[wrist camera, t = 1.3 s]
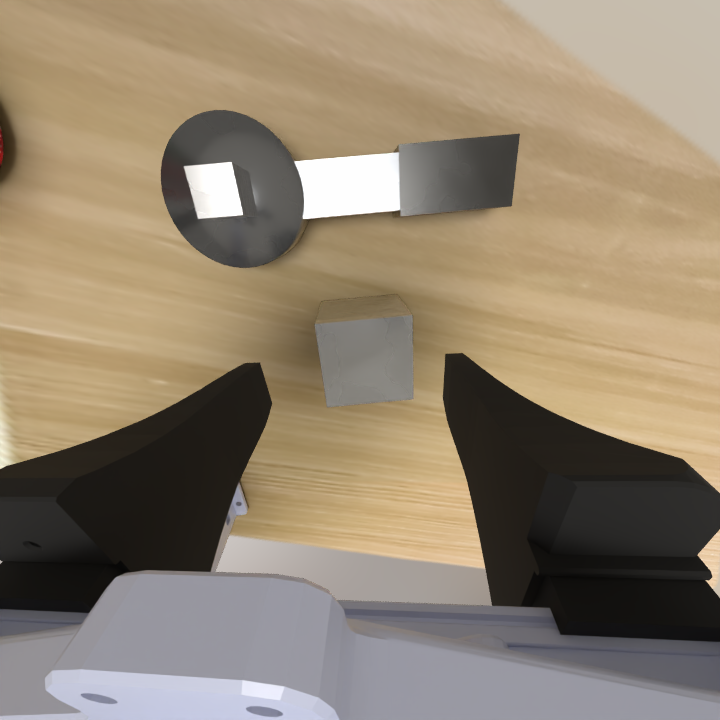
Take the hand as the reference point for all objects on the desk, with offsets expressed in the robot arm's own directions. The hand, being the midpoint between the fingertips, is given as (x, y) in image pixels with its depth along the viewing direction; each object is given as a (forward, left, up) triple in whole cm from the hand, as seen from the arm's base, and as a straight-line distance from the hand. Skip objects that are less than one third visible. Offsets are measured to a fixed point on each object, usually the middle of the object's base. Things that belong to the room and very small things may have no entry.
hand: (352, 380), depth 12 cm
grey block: (-2, -1, -10) cm, 10 cm away
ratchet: (+7, 0, -10) cm, 13 cm away
